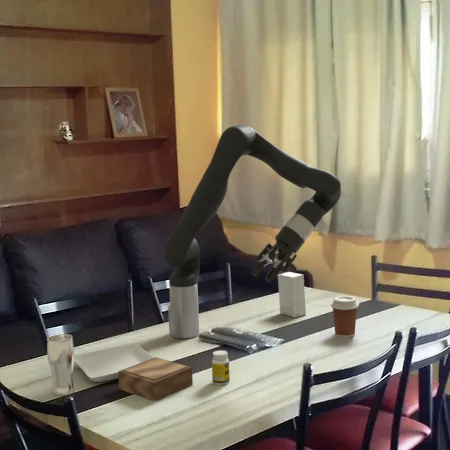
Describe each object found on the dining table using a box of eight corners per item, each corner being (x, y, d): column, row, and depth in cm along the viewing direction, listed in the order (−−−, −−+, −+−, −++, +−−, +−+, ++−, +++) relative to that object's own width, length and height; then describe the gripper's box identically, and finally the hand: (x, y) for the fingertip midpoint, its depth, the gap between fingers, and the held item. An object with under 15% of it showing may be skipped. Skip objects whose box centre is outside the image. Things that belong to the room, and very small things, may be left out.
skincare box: (306, 315, 263) (305, 274, 261) (293, 318, 260) (292, 277, 257) (291, 310, 270) (290, 270, 268) (278, 313, 267) (277, 273, 264)
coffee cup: (327, 337, 237) (327, 301, 235) (334, 329, 245) (334, 294, 243) (355, 339, 233) (355, 303, 232) (361, 331, 242) (361, 296, 240)
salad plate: (90, 389, 200) (90, 377, 199) (69, 366, 218) (68, 355, 218) (163, 374, 209) (162, 362, 209) (136, 353, 228) (135, 343, 227)
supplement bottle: (227, 385, 198) (226, 355, 196) (210, 385, 199) (209, 355, 197) (231, 379, 202) (230, 350, 201) (214, 378, 203) (213, 349, 202)
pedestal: (119, 389, 198) (118, 370, 197) (156, 374, 208) (155, 356, 207) (155, 401, 189) (154, 381, 188) (192, 384, 199) (191, 366, 198)
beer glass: (52, 387, 200) (48, 334, 198) (78, 386, 201) (74, 333, 199) (48, 397, 194) (44, 342, 191) (75, 395, 194) (71, 340, 192)
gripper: (274, 222, 215) (240, 265, 212) (299, 228, 202) (263, 274, 199) (290, 238, 218) (257, 281, 215) (316, 245, 205) (281, 290, 202)
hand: (260, 277), depth 207 cm, fingers open, 8 cm apart
